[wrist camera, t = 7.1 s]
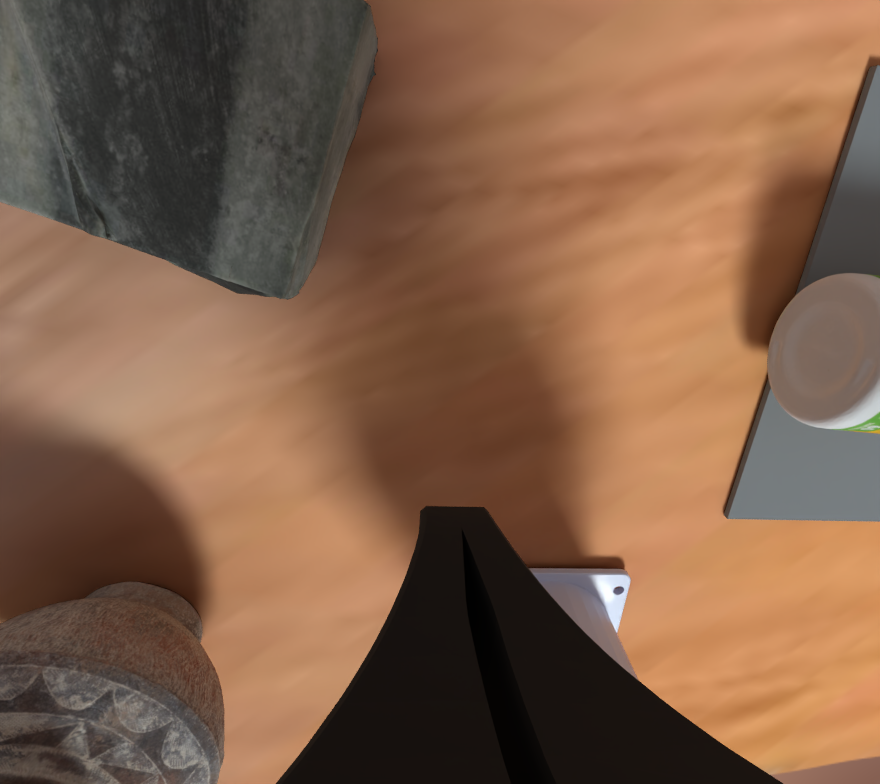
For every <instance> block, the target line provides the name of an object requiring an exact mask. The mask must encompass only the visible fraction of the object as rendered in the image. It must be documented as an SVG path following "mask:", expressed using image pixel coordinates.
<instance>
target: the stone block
mask: <svg viewBox="0 0 880 784" xmlns="http://www.w3.org/2000/svg"><path fill="white" fill-rule="evenodd" d="M377 45H378V38H377V36H376V28H375V25H374V22H373V16H372V12H371V6H370V5H369V4H368V3H366V2H365V1H364V0H0V202H2V203H5V204H8V205H11V206H14V207H17V208H20V209H23V210H26V211H29V212H32V213H35V214H38V215H41V216H44V217H47V218H50V219H53V220H56V221H58V222H61V223H64V224H67V225H70V226H73V227H76V228H78V229H81V230H84V231H85V232H87V233H89V234H91V235H94V236H98V237H102V238H105V239H108V240H111V241H114V242H117V243H120V244H122V245H125V246H128V247H131V248H134V249H136V250H139V251H142V252H145V253H148V254H151V255H153V256H156V257H159V258H162V259H165V260H167V261H169V262H170V263H172V264H174V265H176V266H178V267H181V268H183V269H185V270H187V271H190V272H192V273H194V274H196V275H199V276H201V277H203V278H206V279H208V280H211V281H213V282H215V283H217V284H219V285H221V286H223V287H225V288H227V289H229V290H231V291H234V292H236V293H239V294H253V295H260V296H265V297H277V298H280V299H290V298H293V297H294V296H296V295H297V294H298V293H299V290H300V289H301V288H302V286H303V285H304V283H305V281H306V280H307V278H308V276H309V274H310V272H311V270H312V269H313V267H314V265H315V263H316V261H317V257H318V252H319V248H320V245H321V241H322V238H323V235H324V231H325V227H326V223H327V219H328V215H329V211H330V207H331V202H332V199H333V196H334V193H335V190H336V187H337V183H338V180H339V178H340V175H341V173H342V170H343V165H344V163H345V159H346V156H347V152H348V150H349V148H350V145H351V143H352V141H353V139H354V136H355V133H356V129H357V126H358V123H359V120H360V117H361V113H362V108H363V104H364V100H365V97H366V93H367V88H368V85H369V83H370V81H371V80H372V78H373V76H374V75H376V74H375V72H374V62H375V55H376V53H377V51H378V49H377Z"/></svg>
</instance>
